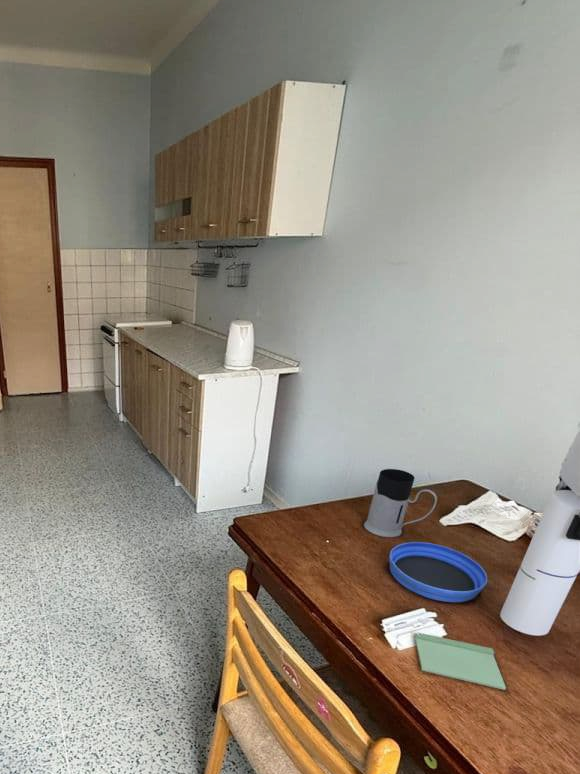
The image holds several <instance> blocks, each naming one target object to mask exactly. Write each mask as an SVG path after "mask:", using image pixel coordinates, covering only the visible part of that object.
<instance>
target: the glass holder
mask: <svg viewBox="0 0 580 774" xmlns="http://www.w3.org/2000/svg"><path fill="white" fill-rule="evenodd" d="M414 482H415V476H414V474H412V473H410V472H408V471H406V470H402V469H396V468H385V469H381V470H380V472H379V475H378V479H377V481H376V484H375V488H374V492H373V495H372V499H371V503H370V506H369V511H368V515H367V519H366V520H365V522H364V523H363V526H364V527H363V528H364V529H365V530H367V532H369V533H370V534H373V535H376V536H378V537H382V538H383V537H384V538H396V537H399V536H401V535H402V533H403V531H402V528H403V526H405V525H410V524H414V523H417V522H419V521H422V520H424V519H426V518H427V517H429V516H430V515H431V514H432V512H433V511H434V510H435V508H436V506H437V502H438V497H437V494H436V493H435V492H434V491H433V490H430V489H421V490H420V491H418V492H417V493H416V495H415V498H414V500H411V492H412V488H413V485H414ZM424 492H427V493H430V494H431V495H432V496H433V498H434V503H433V505H432V508H431V509H430V510H429V512H428V513H426V514H425V515H424V516H422V517H419V518H417V519H414V520H411V521H406V522H404V519H405V516H406V512H407V509H408V506H409V503H410V504H411V503H412V504H414V503H416V502H417V500H418V499H419V497H420V494H421V493H424Z"/></svg>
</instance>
